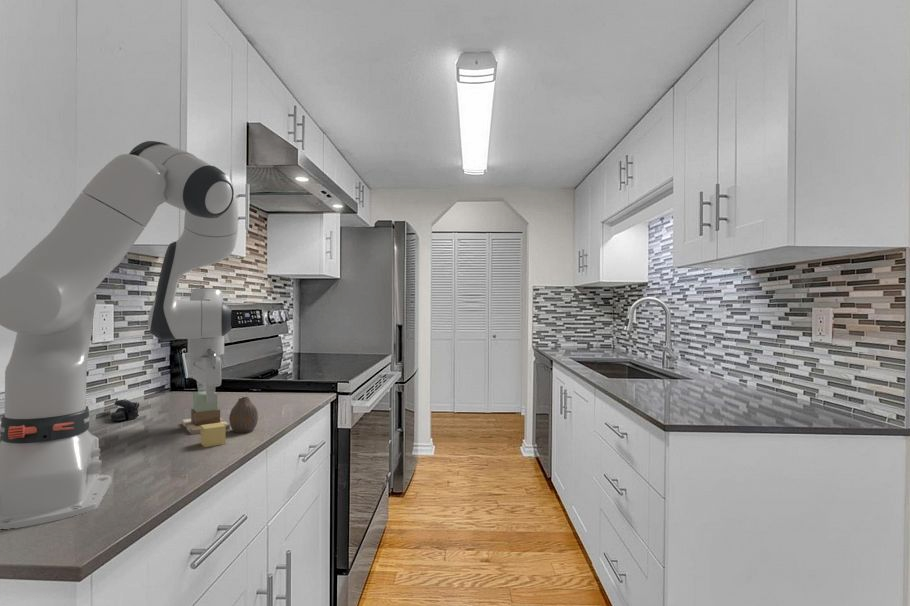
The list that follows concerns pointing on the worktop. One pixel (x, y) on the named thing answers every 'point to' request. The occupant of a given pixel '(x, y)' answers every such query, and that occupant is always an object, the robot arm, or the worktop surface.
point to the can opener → (125, 410)
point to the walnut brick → (205, 417)
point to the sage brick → (203, 402)
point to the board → (197, 429)
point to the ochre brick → (213, 434)
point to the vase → (243, 416)
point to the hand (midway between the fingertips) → (205, 399)
